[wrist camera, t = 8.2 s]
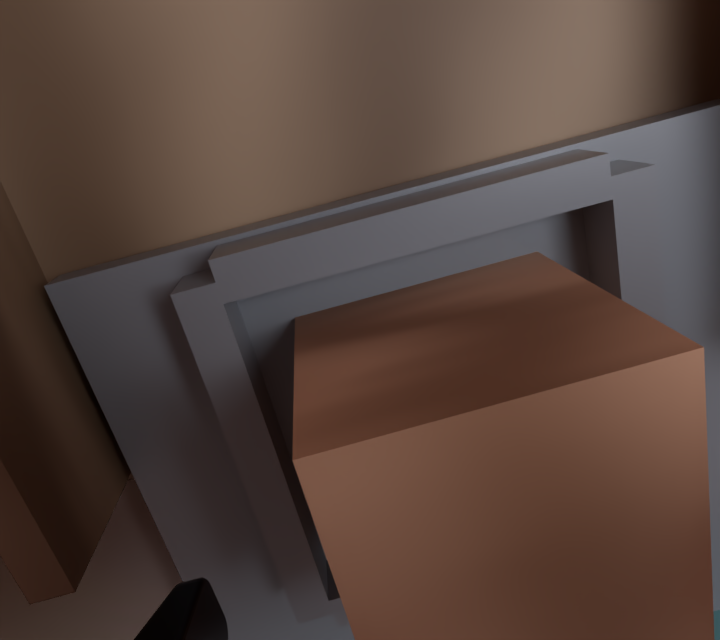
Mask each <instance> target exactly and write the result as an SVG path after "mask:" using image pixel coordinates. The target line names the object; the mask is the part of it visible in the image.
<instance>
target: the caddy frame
mask: <svg viewBox="0 0 720 640" xmlns="http://www.w3.org/2000/svg"><path fill="white" fill-rule="evenodd" d="M718 99H720V0H0V556H1V558H2V560H3V561H4V563H5V564H6V566H7V568H8V569H9V571H10V573H11V574H12V576H13V578H14V579H15V581H16V583H17V584H18V586H19V588H20V589H21V591H22V592H23V594H24V596H25V597H26V599H27V601H28V602H29V604H33V603H37V602H41V601H44V600H48V599H52V598H55V597H59V596H63V595H66V594H70V593H74V592H76V589H77V587H78V585H79V583H80V581H81V579H82V577H83V574H84V572H85V570H86V568H87V566H88V564H89V562H90V559H91V557H92V555H93V553H94V551H95V549H96V547H97V544H98V542H99V540H100V538H101V536H102V534H103V532H104V530H105V527H106V525H107V523H108V521H109V519H110V517H111V515H112V512H113V510H114V508H115V506H116V504H117V502H118V500H119V497H120V495H121V493H122V491H123V489H124V487H125V485H126V482H127V480H131V479H134V477H133V475H132V472H131V470H130V468H129V466H128V464H127V462H126V460H125V458H124V455H123V453H122V451H121V449H120V447H119V445H118V443H117V440H116V438H115V436H114V434H113V432H112V430H111V428H110V426H109V423H108V421H107V419H106V417H105V415H104V413H103V411H102V409H101V406H100V404H99V402H98V400H97V398H96V396H95V394H94V392H93V389H92V387H91V385H90V383H89V381H88V379H87V377H86V375H85V372H84V370H83V368H82V366H81V364H80V362H79V360H78V358H77V355H76V353H75V351H74V349H73V347H72V345H71V343H70V341H69V338H68V336H67V334H66V332H65V330H64V328H63V326H62V323H61V321H60V319H59V317H58V315H57V313H56V311H55V309H54V306H53V304H52V302H51V300H50V298H49V296H48V294H47V292H46V289H45V287H44V286H45V285H46V284H48V283H49V282H51V281H52V280H54V279H55V278H57V277H58V276H60V275H62V274H66V273H69V272H73V271H77V270H80V269H84V268H88V267H92V266H95V265H99V264H103V263H107V262H110V261H114V260H118V259H122V258H125V257H129V256H133V255H137V254H140V253H144V252H148V251H151V250H155V249H159V248H163V247H166V246H170V245H174V244H178V243H181V242H185V241H189V240H193V239H196V238H200V237H204V236H208V235H211V234H215V233H219V232H222V231H226V230H230V229H234V228H237V227H241V226H245V225H249V224H252V223H256V222H260V221H264V220H267V219H271V218H275V217H279V216H282V215H286V214H290V213H293V212H297V211H301V210H305V209H308V208H312V207H316V206H320V205H323V204H327V203H331V202H335V201H338V200H342V199H346V198H350V197H353V196H357V195H361V194H364V193H368V192H372V191H376V190H379V189H383V188H387V187H391V186H394V185H398V184H402V183H406V182H409V181H413V180H417V179H421V178H424V177H428V176H432V175H435V174H439V173H443V172H447V171H450V170H454V169H458V168H462V167H465V166H469V165H473V164H477V163H480V162H484V161H488V160H492V159H495V158H499V157H503V156H506V155H510V154H514V153H518V152H521V151H525V150H529V149H533V148H536V147H540V146H544V145H548V144H551V143H555V142H559V141H562V140H566V139H570V138H574V137H577V136H581V135H585V134H589V133H592V132H596V131H600V130H604V129H607V128H611V127H615V126H619V125H622V124H626V123H630V122H633V121H637V120H641V119H645V118H648V117H652V116H656V115H660V114H663V113H667V112H671V111H675V110H678V109H682V108H686V107H690V106H693V105H697V104H701V103H704V102H708V101H712V100H718Z"/></svg>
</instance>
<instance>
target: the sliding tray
mask: <svg viewBox="0 0 720 640" xmlns="http://www.w3.org/2000/svg"><path fill="white" fill-rule="evenodd" d="M533 252H539V253H541V254H543V255H544V256H546V257H548V258H550V259H551V260H553V261H555V262H556V263H558V264H560V265H562V266H563V267H565V268H567V269H569V270H570V271H572V272H574V273H576V274H577V275H579V276H581V277H583V278H584V279H586V280H588V281H590V282H591V283H593V284H595V285H597V286H598V287H600V288H602V289H603V290H605V291H607V292H609V293H610V294H612V295H614V296H616V297H617V298H619V299H621V300H623V301H624V302H626V303H628V304H630V305H631V306H633V307H635V308H637V309H638V310H640V311H642V312H644V313H645V314H647V315H649V316H651V317H652V318H654V319H656V320H657V321H659V322H661V323H663V324H664V325H666V326H668V327H670V328H671V329H673V330H675V331H677V332H678V333H680V334H682V335H684V336H685V337H687V338H689V339H691V340H692V341H694V342H696V343H698V344H699V345H701V346H703V347H704V361H705V389H706V417H707V445H708V473H709V501H710V529H711V557H712V585H713V612H714V640H720V99H718V100H712V101H708V102H704V103H701V104H697V105H693V106H690V107H686V108H682V109H678V110H675V111H671V112H667V113H663V114H660V115H656V116H652V117H648V118H645V119H641V120H637V121H633V122H630V123H626V124H622V125H619V126H615V127H611V128H607V129H604V130H600V131H596V132H592V133H589V134H585V135H581V136H577V137H574V138H570V139H566V140H562V141H559V142H555V143H551V144H548V145H544V146H540V147H536V148H533V149H529V150H525V151H521V152H518V153H514V154H510V155H506V156H503V157H499V158H495V159H492V160H488V161H484V162H480V163H477V164H473V165H469V166H465V167H462V168H458V169H454V170H450V171H447V172H443V173H439V174H435V175H432V176H428V177H424V178H421V179H417V180H413V181H409V182H406V183H402V184H398V185H394V186H391V187H387V188H383V189H379V190H376V191H372V192H368V193H364V194H361V195H357V196H353V197H350V198H346V199H342V200H338V201H335V202H331V203H327V204H323V205H320V206H316V207H312V208H308V209H305V210H301V211H297V212H293V213H290V214H286V215H282V216H279V217H275V218H271V219H267V220H264V221H260V222H256V223H252V224H249V225H245V226H241V227H237V228H234V229H230V230H226V231H222V232H219V233H215V234H211V235H208V236H204V237H200V238H196V239H193V240H189V241H185V242H181V243H178V244H174V245H170V246H166V247H163V248H159V249H155V250H151V251H148V252H144V253H140V254H137V255H133V256H129V257H125V258H122V259H118V260H114V261H110V262H107V263H103V264H99V265H95V266H92V267H88V268H84V269H80V270H77V271H73V272H69V273H66V274H62V275H60V276H58V277H57V278H55V279H54V280H52V281H51V282H49V283H48V284H46V285H45V286H44V287H45V289H46V292H47V294H48V296H49V298H50V300H51V302H52V304H53V306H54V309H55V311H56V313H57V315H58V317H59V319H60V321H61V323H62V326H63V328H64V330H65V332H66V334H67V336H68V338H69V341H70V343H71V345H72V347H73V349H74V351H75V353H76V355H77V358H78V360H79V362H80V364H81V366H82V368H83V370H84V372H85V375H86V377H87V379H88V381H89V383H90V385H91V387H92V389H93V392H94V394H95V396H96V398H97V400H98V402H99V404H100V406H101V409H102V411H103V413H104V415H105V417H106V419H107V421H108V423H109V426H110V428H111V430H112V432H113V434H114V436H115V438H116V440H117V443H118V445H119V447H120V449H121V451H122V453H123V455H124V458H125V460H126V462H127V464H128V466H129V468H130V470H131V472H132V475H133V477H134V479H135V481H136V483H137V485H138V487H139V489H140V492H141V494H142V496H143V498H144V500H145V502H146V504H147V506H148V509H149V511H150V513H151V515H152V517H153V519H154V521H155V523H156V526H157V528H158V530H159V532H160V534H161V536H162V538H163V540H164V543H165V545H166V547H167V549H168V551H169V553H170V555H171V557H172V560H173V562H174V564H175V566H176V568H177V570H178V572H179V575H180V577H181V579H182V581H183V582H186V581H189V580H193V579H197V578H200V577H203V578H206V579H207V580H208V581H209V582H210V584H211V586H212V588H213V591H214V593H215V595H216V597H217V600H218V602H219V604H220V606H221V609H222V611H223V613H224V615H225V618H226V622H227V627H228V640H355V638H354V635H353V633H352V630H351V627H350V624H349V621H348V618H347V615H346V612H345V610H344V607H343V604H342V601H341V598H340V595H339V592H338V590H337V587H336V584H335V581H334V578H333V575H332V572H331V569H330V567H329V564H328V561H327V558H326V555H325V552H324V549H323V547H322V544H321V541H320V538H319V535H318V532H317V529H316V526H315V524H314V521H313V518H312V515H311V512H310V509H309V506H308V504H307V501H306V498H305V495H304V492H303V489H302V486H301V483H300V481H299V478H298V475H297V472H296V469H295V466H294V463H293V461H292V458H293V401H294V343H295V317H299V316H302V315H306V314H310V313H313V312H317V311H321V310H324V309H328V308H332V307H335V306H339V305H343V304H346V303H350V302H354V301H357V300H361V299H365V298H368V297H372V296H376V295H379V294H383V293H387V292H390V291H394V290H398V289H401V288H405V287H409V286H412V285H416V284H420V283H423V282H427V281H431V280H434V279H438V278H442V277H445V276H449V275H453V274H456V273H460V272H464V271H467V270H471V269H475V268H478V267H482V266H486V265H489V264H493V263H497V262H500V261H504V260H508V259H511V258H515V257H519V256H522V255H526V254H530V253H533Z"/></svg>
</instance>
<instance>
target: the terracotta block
mask: <svg viewBox="0 0 720 640" xmlns="http://www.w3.org/2000/svg"><path fill="white" fill-rule="evenodd" d="M292 461H293V463H294V466H295V469H296V472H297V475H298V478H299V481H300V483H301V486H302V489H303V492H304V495H305V498H306V501H307V504H308V506H309V509H310V512H311V515H312V518H313V521H314V524H315V526H316V529H317V532H318V535H319V538H320V541H321V544H322V547H323V549H324V552H325V555H326V558H327V561H328V564H329V567H330V569H331V572H332V575H333V578H334V581H335V584H336V587H337V590H338V592H339V595H340V598H341V601H342V604H343V607H344V610H345V612H346V615H347V618H348V621H349V624H350V627H351V630H352V633H353V635H354V638H355V640H714V612H713V585H712V557H711V529H710V501H709V473H708V445H707V417H706V389H705V361H704V347H703V346H701V345H699V344H698V343H696V342H694V341H692V340H691V339H689V338H687V337H685V336H684V335H682V334H680V333H678V332H677V331H675V330H673V329H671V328H670V327H668V326H666V325H664V324H663V323H661V322H659V321H657V320H656V319H654V318H652V317H651V316H649V315H647V314H645V313H644V312H642V311H640V310H638V309H637V308H635V307H633V306H631V305H630V304H628V303H626V302H624V301H623V300H621V299H619V298H617V297H616V296H614V295H612V294H610V293H609V292H607V291H605V290H603V289H602V288H600V287H598V286H597V285H595V284H593V283H591V282H590V281H588V280H586V279H584V278H583V277H581V276H579V275H577V274H576V273H574V272H572V271H570V270H569V269H567V268H565V267H563V266H562V265H560V264H558V263H556V262H555V261H553V260H551V259H550V258H548V257H546V256H544V255H543V254H541V253H539V252H533V253H530V254H526V255H522V256H519V257H515V258H511V259H508V260H504V261H500V262H497V263H493V264H489V265H486V266H482V267H478V268H475V269H471V270H467V271H464V272H460V273H456V274H453V275H449V276H445V277H442V278H438V279H434V280H431V281H427V282H423V283H420V284H416V285H412V286H409V287H405V288H401V289H398V290H394V291H390V292H387V293H383V294H379V295H376V296H372V297H368V298H365V299H361V300H357V301H354V302H350V303H346V304H343V305H339V306H335V307H332V308H328V309H324V310H321V311H317V312H313V313H310V314H306V315H302V316H299V317H295V343H294V401H293V458H292Z"/></svg>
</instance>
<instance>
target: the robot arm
mask: <svg viewBox="0 0 720 640" xmlns="http://www.w3.org/2000/svg"><path fill="white" fill-rule="evenodd" d="M134 640H228V627H227V622H226V618H225V615H224V613H223V611H222V609H221V606H220V604H219V602H218V600H217V597H216V595H215V593H214V591H213V588H212V586H211V584H210V582H209V581H208V580H207V579H206V578H203V577H200V578H197V579H193V580H189V581H186V582H182V583H180V584H178V585H176V586H175V588H174V589H173V590H172V591H171V592H170V594H169V595H168V596H167V598H166V599H165V600H164V601H163V603H162V604H161V605H160V607H159V608H158V609H157V610H156V612H155V613H154V614H153V616H152V617H151V618H150V619H149V621H148V622H147V623H146V625H145V626H144V627H143V629H142V630H141V631H140V632H139V634H138V635H137V636H136V638H135V639H134Z"/></svg>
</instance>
